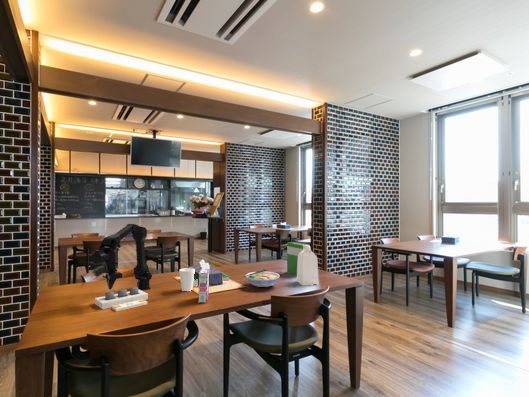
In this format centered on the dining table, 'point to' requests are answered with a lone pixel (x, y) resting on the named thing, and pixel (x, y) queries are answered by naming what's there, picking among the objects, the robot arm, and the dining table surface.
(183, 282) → the foam cup
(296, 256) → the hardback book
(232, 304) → the dining table surface
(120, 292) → the button middle
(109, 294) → the button
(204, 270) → the candy bar box
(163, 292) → the dining table surface
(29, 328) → the dining table surface
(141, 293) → the button board
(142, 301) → the pattern card
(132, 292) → the button
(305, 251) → the milk
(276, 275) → the ramen bowl
